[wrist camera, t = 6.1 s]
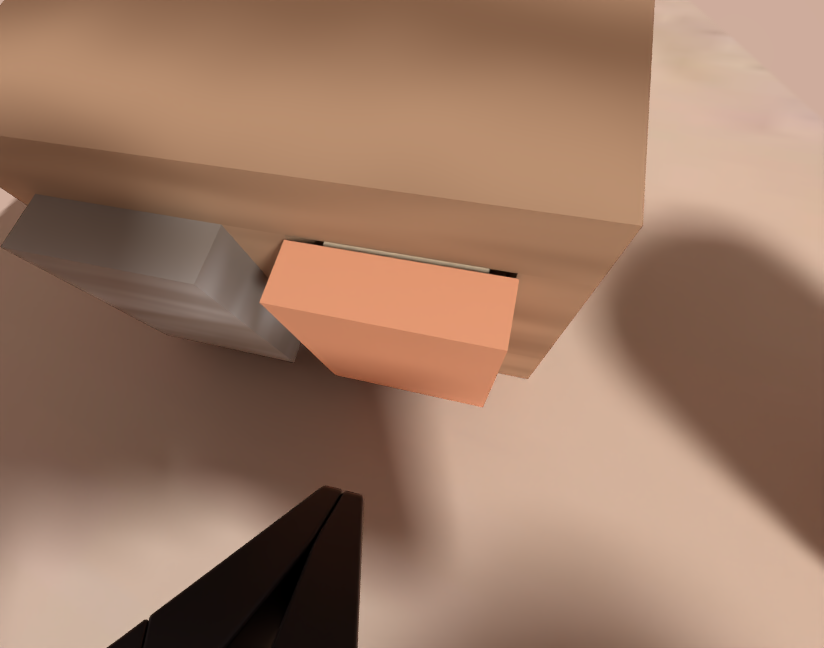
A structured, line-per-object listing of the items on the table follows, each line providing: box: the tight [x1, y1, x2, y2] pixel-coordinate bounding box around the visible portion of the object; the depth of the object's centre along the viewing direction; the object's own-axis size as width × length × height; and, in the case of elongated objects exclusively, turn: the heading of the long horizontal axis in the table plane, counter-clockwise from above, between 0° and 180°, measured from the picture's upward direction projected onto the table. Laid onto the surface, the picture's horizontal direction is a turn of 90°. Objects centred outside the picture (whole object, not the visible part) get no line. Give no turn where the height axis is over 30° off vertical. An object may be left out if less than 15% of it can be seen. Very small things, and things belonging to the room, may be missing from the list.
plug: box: [259, 240, 519, 407], centre depth 12 cm, size 10×5×6 cm, turn 167°
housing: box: [0, 0, 655, 379], centre depth 13 cm, size 10×14×10 cm
